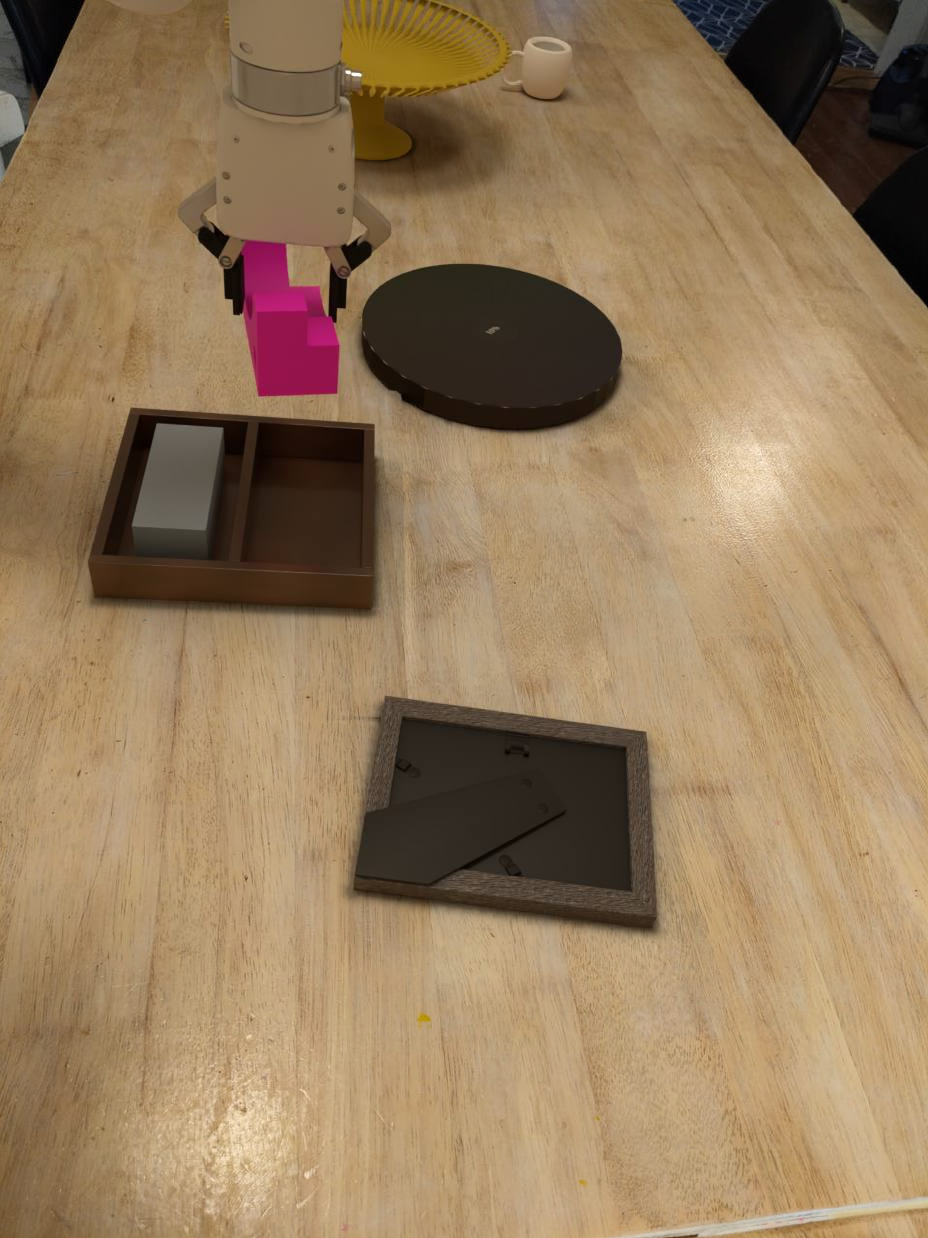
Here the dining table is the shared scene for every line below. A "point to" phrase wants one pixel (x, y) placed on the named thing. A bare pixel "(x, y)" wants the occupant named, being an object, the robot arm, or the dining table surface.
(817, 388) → the dining table surface
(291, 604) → the divided tray
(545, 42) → the mug
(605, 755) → the picture frame
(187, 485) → the gray rectangular block
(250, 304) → the toy block
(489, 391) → the disc
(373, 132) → the yellow pedestal bowl
